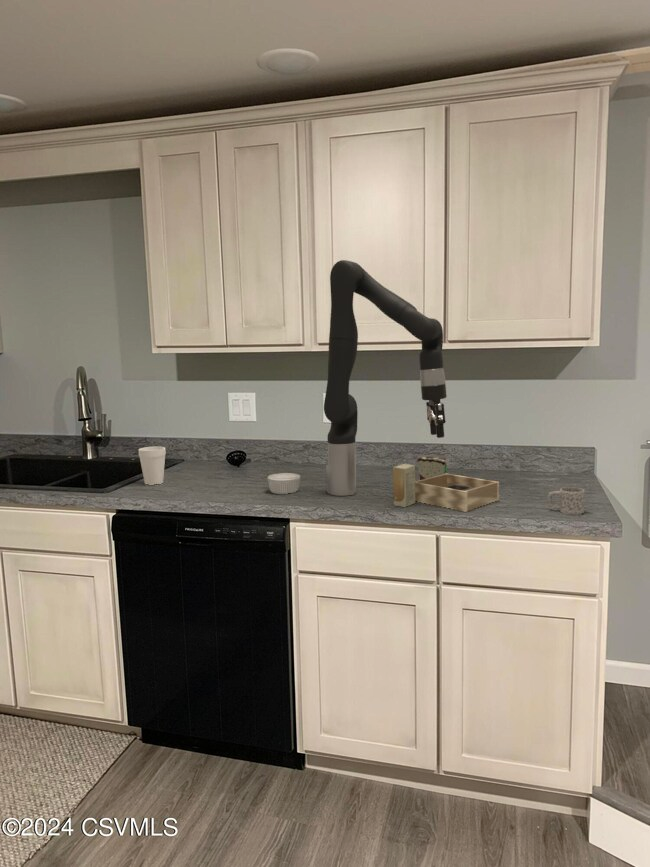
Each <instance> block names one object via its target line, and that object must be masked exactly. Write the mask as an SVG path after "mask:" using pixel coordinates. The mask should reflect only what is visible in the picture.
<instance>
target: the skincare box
mask: <svg viewBox="0 0 650 867" xmlns="http://www.w3.org/2000/svg"><path fill="white" fill-rule="evenodd" d="M392 468H393V469H392V474H393V476H392V478H393V479H392V480H393V481H392V482H393V484H392V485H393V506H396V507H400V508H401V507H402V508H406V506H407V507H409V506H412V505H413V504H415V503H416V502H415V481H416V466H415V464H408V463H401V464H399V465H396V466H393V467H392Z"/></svg>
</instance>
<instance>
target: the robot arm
mask: <svg viewBox="0 0 650 867" xmlns="http://www.w3.org/2000/svg"><path fill="white" fill-rule="evenodd" d="M329 282H330V284H329V285H330V303H331V304H330V317H329V318H330V320H329V321H330V322H329V334H328V335H329V336H328V359H327V362H328V363H327V383H326V391H325V397H324V400H323V402H324V403H323V412H324V415H325V417H326V419H327V420H328V421H329V422H330V428H329V432H328V433H327V463H326V465H325V471H326V472H325V475H326V476H325V478H326V479H325V480H326V481H325V482H326V493H328V494H329V495H331V496H335V497H336V496H337V497H343V496H345V497H346V496H352V495H355V494H356V493H357V465H356V464H357V457H356V454H357V452H356V449H357V448H356V436H357V433H358V414H359V413H358V404H357V401H356V399H355V398H354V396H353V395H352V394H350V380H351V376H352V372H353V369H354V366H355V362H356V359H357V355H358V354H357V353H358V344H359V340H358V339H359V329H358V325H357V322H356V318H355V317H356V316H355V312H354V295H355V294H356V295H359V296H360V297H361V296H362V297H363V298H365V299H366V300H368V301H370V302H371V304H373V305H374V306H375V307H376V308H377V309H378V310H379V311H381V312H382V313H383V314H384V315H385V316H386V317H388V318H389V319H391V320H392V321H394V322H395V323H397V324H398V325H400V326H402V327H403V328H404V329H405V330H406V331H407V332H408V333H410V334H411V335H412V336H413V337H414V338H416V339H417V340H419V341H421V350H420V352H419V369H420V376H419V381H420V392H421V400H423V401H426V402H425V405H426V415H427V416H426V418H427V421H428V423H429V427H430V428H429V429H430V431H429V432H430V435H431V436H435V435H436V438H438V439H440V438H441V439H442V438H444V437H445V428H444V425H445V424H446V422H447V420H446V416H445V404H444V403H442V402H441V400H444V399H446V398H447V396H448V395H447V385H446V374H445V370H444V360H443V359H444V358H443V342H444V331H443V327H442V324H441V322H440V321H439V319H436V318H432V317H430V318H429V317H428V316H426V315H424V314H423V313H422V312H420V311H418V310H417V308H416V307H415V306H414V305H413V304H411V302H409V301H407V300H405V299H404V298H402V297H401V296H399V295H398V294H396V293H395V292H393V291H391V290H389V288H386V287H385V286H384V285H382V284H381V283H380V282H378V281H377V280H376V279H375V278H373V277H372V275H370V273H368V272H367V271H366V270H365V269H364V268H363V267H362V266H361V265H360V264H359V263H357V262H355V261H352V260H348V259H347V260H346V259H342V260H338V261H337V262H335V263H334V264H333V266H332V268H331V270H330V273H329Z"/></svg>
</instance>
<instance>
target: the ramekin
mask: <svg viewBox="0 0 650 867" xmlns="http://www.w3.org/2000/svg"><path fill="white" fill-rule="evenodd" d="M300 480H301V475H300V474H298V473H293V472H292V473H291V472H290V473H288V472H282V473H274V474H270V475H268V476H267V481H268V486H269V487H268V488H269V491H270V492H271V493H272V494H275V495H289V494H288V493H291V494H294V492H295V493H297V492H298V491H299V488H300V487H299V486H300ZM296 491H297V492H296Z"/></svg>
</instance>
